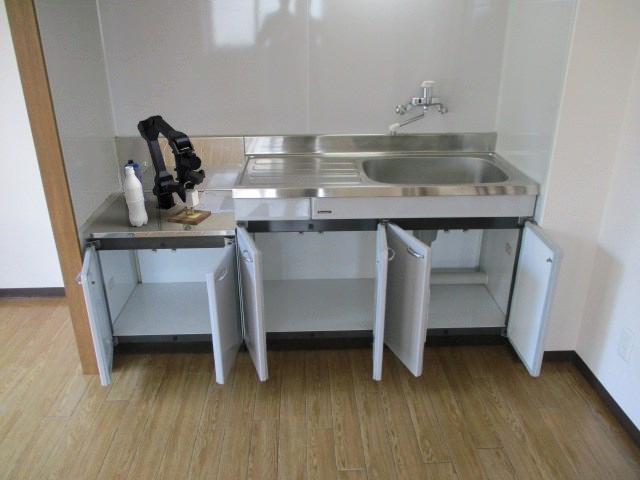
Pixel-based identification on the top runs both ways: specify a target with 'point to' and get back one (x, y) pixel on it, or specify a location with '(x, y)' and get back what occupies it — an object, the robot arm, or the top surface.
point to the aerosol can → (136, 174)
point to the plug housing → (189, 198)
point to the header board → (189, 216)
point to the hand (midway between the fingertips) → (187, 200)
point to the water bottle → (134, 198)
